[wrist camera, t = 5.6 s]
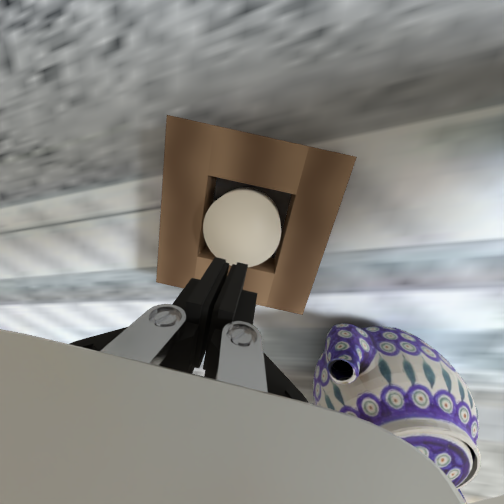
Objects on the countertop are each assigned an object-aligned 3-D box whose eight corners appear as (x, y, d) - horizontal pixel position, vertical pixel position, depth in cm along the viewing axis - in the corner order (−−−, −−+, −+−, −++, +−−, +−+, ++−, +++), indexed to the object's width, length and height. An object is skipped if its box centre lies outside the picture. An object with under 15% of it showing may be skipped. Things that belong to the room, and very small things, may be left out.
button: (287, 195, 23) (290, 201, 20) (271, 260, 26) (271, 274, 23) (217, 180, 23) (208, 183, 20) (208, 245, 26) (198, 258, 23)
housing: (343, 157, 24) (356, 156, 20) (298, 295, 29) (302, 314, 26) (183, 121, 24) (166, 114, 20) (171, 266, 29) (156, 282, 26)
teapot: (460, 395, 33) (596, 567, 19) (356, 430, 37) (406, 593, 23) (376, 254, 27) (488, 358, 13) (263, 316, 31) (255, 444, 17)
